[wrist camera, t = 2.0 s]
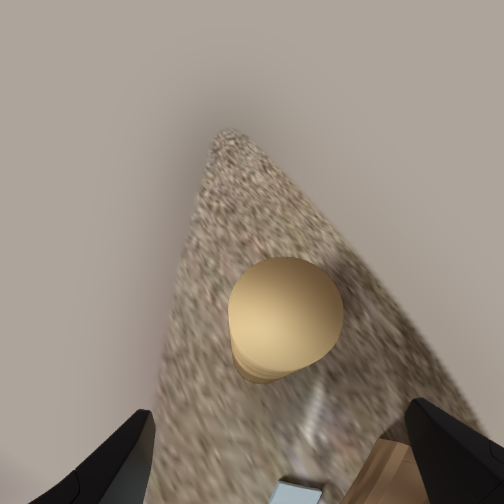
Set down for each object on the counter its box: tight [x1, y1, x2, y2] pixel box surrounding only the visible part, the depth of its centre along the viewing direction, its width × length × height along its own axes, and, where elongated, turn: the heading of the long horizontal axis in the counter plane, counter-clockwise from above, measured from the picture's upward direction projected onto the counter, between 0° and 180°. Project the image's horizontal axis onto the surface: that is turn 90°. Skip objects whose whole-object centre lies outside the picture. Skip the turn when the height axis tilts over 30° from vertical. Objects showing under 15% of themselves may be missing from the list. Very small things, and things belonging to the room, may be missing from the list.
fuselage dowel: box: [228, 257, 344, 384], centre depth 15 cm, size 4×4×11 cm
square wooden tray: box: [340, 438, 430, 504], centre depth 14 cm, size 8×8×3 cm
